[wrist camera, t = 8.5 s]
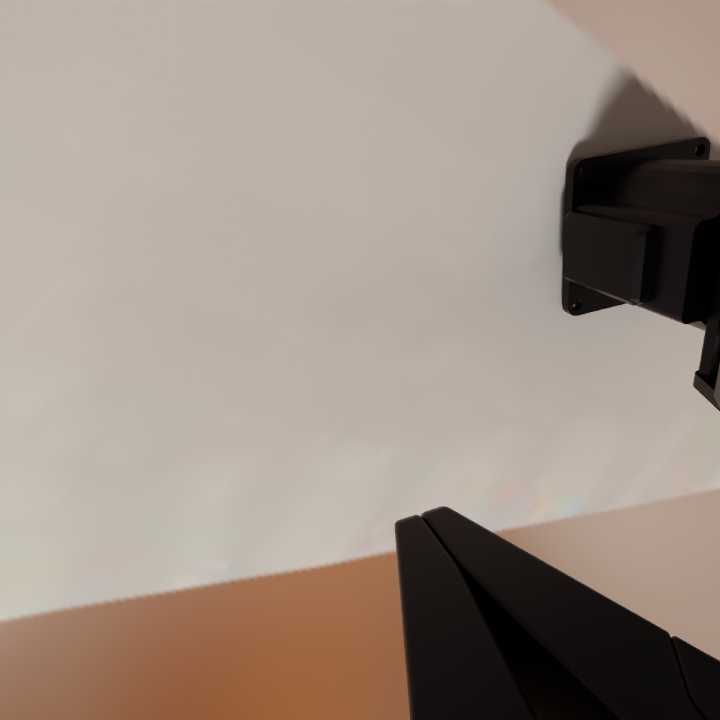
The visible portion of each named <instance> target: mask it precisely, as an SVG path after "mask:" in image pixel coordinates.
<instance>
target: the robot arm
mask: <svg viewBox="0 0 720 720" xmlns="http://www.w3.org/2000/svg"><path fill="white" fill-rule="evenodd" d="M696 147H697V151H696V153H695V150H696ZM709 153H710V142H709V140H708V139H707V138H706V137H692V138H686V139H681V140H675V141H670V142H664V143H659V144H653V145H648V146H642V147H637V148H631V149H626V150H620V151H615V152H609V153H604V154H598V155H593V156H587V157H582V158H578V159H575V160H574V161H573V162H572V163H570V165H569V167H568V170H567V183H566V212H565V220H564V248H563V296H562V307H563V310H564V311H565V312H567V313H569V314H571V315H573V316H578V315H582V314H586V313H590V312H594V311H598V310H602V309H606V308H610V307H613V306H617V305H621V304H625V303H628V304H630V305H636V306H639V307H641V308H644V309H647V310H649V311H652V312H654V313H657V314H660V315H662V316H665V317H667V318H670V319H673V320H675V321H678V322H680V323H683V324H689V325H692V326H694V327H697V328H699V329H702V330H705V336H704V342H703V348H702V354H701V360H700V366H699V370H698V371H696V372H695V377H694V383H693V386H694V387H695V388H696V389H697V390H698V391H699V392H700V393H701V394H702V395H703V396H704V397H705V398H706V399H707V400H708V401H709V402H710V403H711V404H713V405H714V406H715V407H716V408H717V409H718V410H719V411H720V161H719V160H709ZM581 167H583V174H582V175H581V177H579V170H580V168H581ZM576 300H577V304H576V305H575V306H574V307H573V304H574V302H575V301H576ZM395 537H396V549H397V561H398V574H399V586H400V597H401V598H400V599H401V611H402V624H403V635H404V648H405V661H406V672H407V684H408V698H409V710H410V720H720V661H719V660H717V659H715V658H713V657H712V656H710V655H708V654H706V653H704V652H703V651H701V650H699V649H697V648H696V647H694V646H692V645H690V644H689V643H687V642H685V641H683V640H682V639H680V638H678V637H676V636H673V637H670V635H669V633H668V632H667V631H665V630H663V629H662V628H660V627H658V626H656V625H655V624H653V623H651V622H649V621H648V620H646V619H644V618H642V617H641V616H639V615H637V614H635V613H634V612H632V611H630V610H628V609H626V608H625V607H623V606H621V605H619V604H618V603H616V602H614V601H612V600H611V599H609V598H607V597H605V596H604V595H602V594H600V593H598V592H597V591H595V590H593V589H591V588H590V587H588V586H586V585H584V584H582V583H581V582H579V581H577V580H575V579H574V578H572V577H570V576H568V575H567V574H565V573H563V572H561V571H560V570H558V569H556V568H554V567H552V566H551V565H549V564H547V563H545V562H544V561H542V560H540V559H538V558H537V557H535V556H533V555H531V554H530V553H528V552H526V551H524V550H523V549H521V548H519V547H517V546H515V545H514V544H512V543H510V542H508V541H506V540H505V539H503V538H501V537H500V536H498V535H496V534H494V533H493V532H491V531H489V530H487V529H486V528H484V527H482V526H480V525H479V524H477V523H475V522H473V521H471V520H470V519H468V518H466V517H464V516H463V515H461V514H459V513H457V512H456V511H454V510H452V509H450V508H448V507H445V506H442V507H439V508H435V509H432V510H429V511H426V512H424V513H422V515H421V516H419V515H414V516H411V517H408V518H404V519H401V520H398V521H397V522H396V523H395Z"/></svg>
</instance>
